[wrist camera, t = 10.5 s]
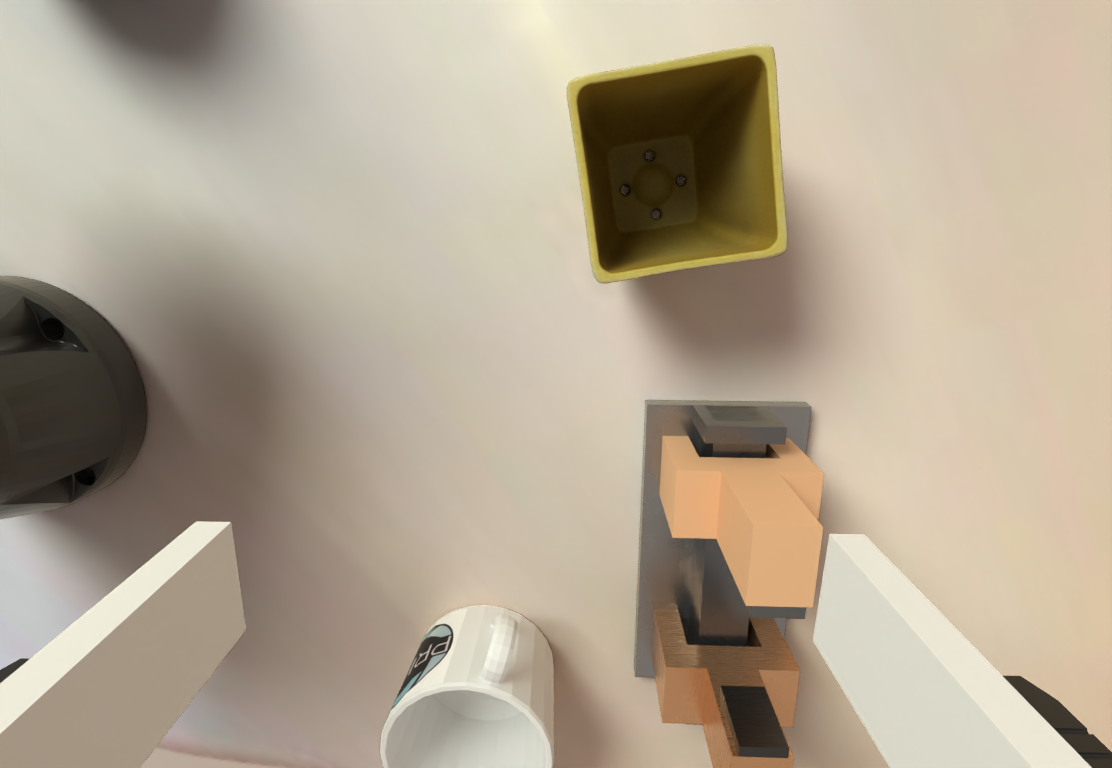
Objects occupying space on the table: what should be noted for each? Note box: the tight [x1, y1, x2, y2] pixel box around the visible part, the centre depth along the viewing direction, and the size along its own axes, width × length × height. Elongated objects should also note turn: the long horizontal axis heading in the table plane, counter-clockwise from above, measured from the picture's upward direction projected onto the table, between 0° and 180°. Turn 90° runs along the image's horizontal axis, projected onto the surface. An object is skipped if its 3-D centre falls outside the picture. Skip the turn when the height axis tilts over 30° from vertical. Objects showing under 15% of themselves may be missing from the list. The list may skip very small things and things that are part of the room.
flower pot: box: [567, 44, 787, 283], centre depth 30 cm, size 9×9×9 cm
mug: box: [379, 605, 554, 768], centre depth 39 cm, size 13×10×8 cm
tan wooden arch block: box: [659, 436, 824, 619], centre depth 32 cm, size 8×5×12 cm, turn 90°
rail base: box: [634, 400, 811, 768], centre depth 34 cm, size 10×20×12 cm, turn 0°
